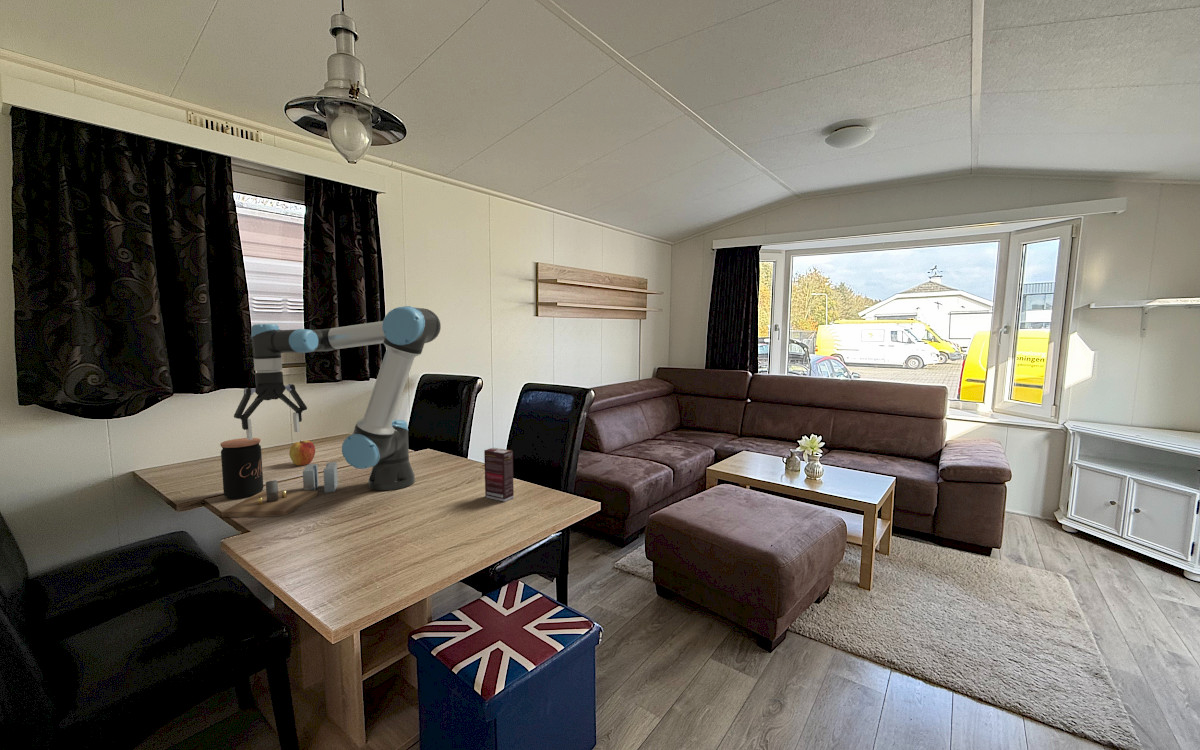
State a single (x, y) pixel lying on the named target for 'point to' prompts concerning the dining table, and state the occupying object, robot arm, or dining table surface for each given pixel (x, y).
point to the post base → (270, 502)
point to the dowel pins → (260, 499)
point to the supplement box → (499, 474)
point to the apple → (302, 452)
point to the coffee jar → (241, 468)
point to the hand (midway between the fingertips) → (274, 435)
